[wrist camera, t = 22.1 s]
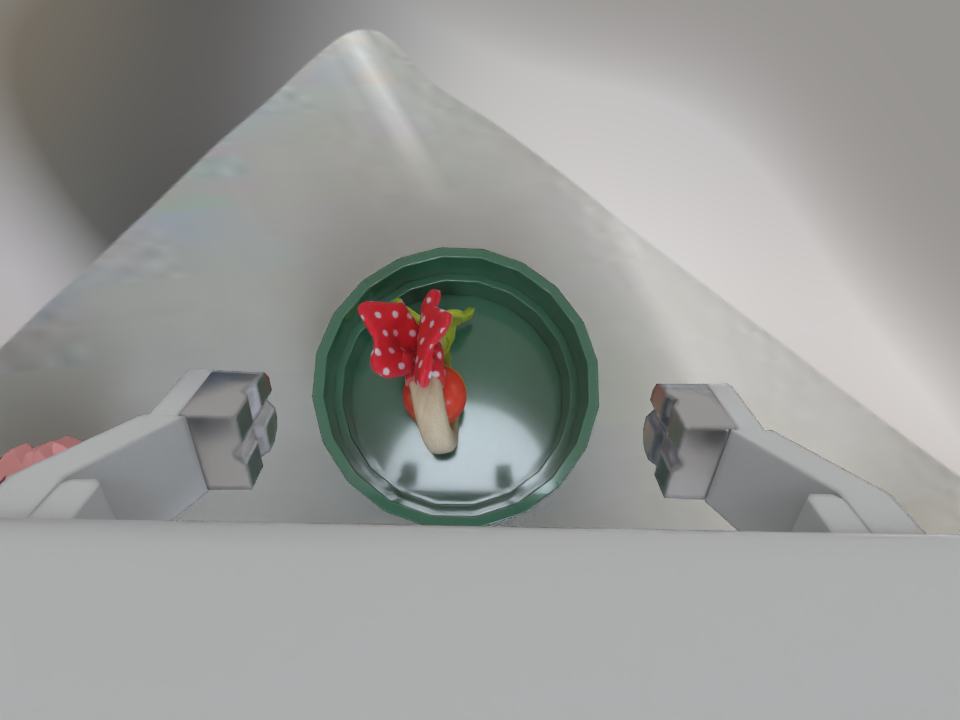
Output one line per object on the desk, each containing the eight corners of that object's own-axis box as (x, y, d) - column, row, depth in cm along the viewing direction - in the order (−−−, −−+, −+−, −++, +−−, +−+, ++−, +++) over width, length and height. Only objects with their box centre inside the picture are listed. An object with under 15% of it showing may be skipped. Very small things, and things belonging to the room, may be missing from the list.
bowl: (579, 523, 33) (603, 530, 27) (326, 518, 32) (300, 525, 27) (573, 287, 36) (594, 252, 31) (345, 279, 35) (326, 242, 30)
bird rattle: (493, 409, 35) (465, 273, 34) (531, 473, 25) (492, 277, 23) (400, 431, 35) (366, 294, 33) (396, 507, 24) (345, 309, 22)
